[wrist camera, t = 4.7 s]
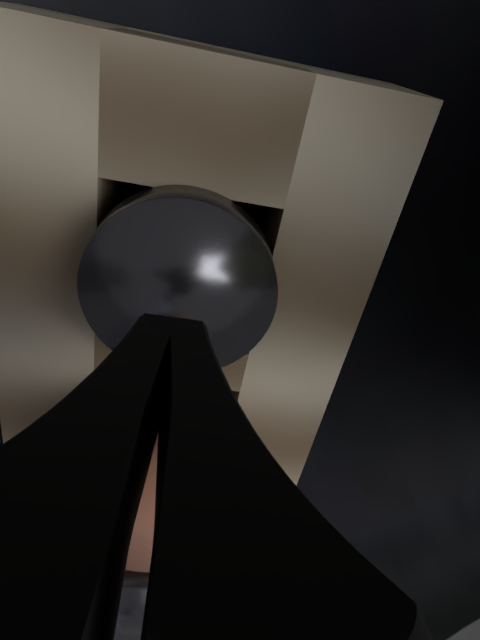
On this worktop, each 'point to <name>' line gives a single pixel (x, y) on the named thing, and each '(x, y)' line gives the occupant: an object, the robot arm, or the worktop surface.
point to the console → (201, 171)
